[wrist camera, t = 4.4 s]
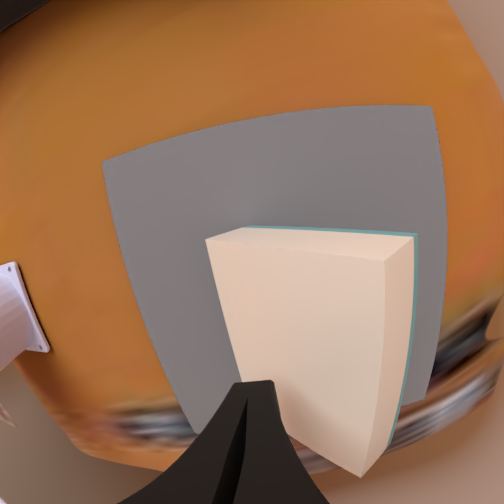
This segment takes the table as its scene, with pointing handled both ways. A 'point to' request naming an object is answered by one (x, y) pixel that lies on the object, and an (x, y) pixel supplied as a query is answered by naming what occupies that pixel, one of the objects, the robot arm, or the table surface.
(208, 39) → the table surface
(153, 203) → the mat
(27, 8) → the magazine
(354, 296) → the tile
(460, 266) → the table surface
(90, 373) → the table surface
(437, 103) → the table surface
